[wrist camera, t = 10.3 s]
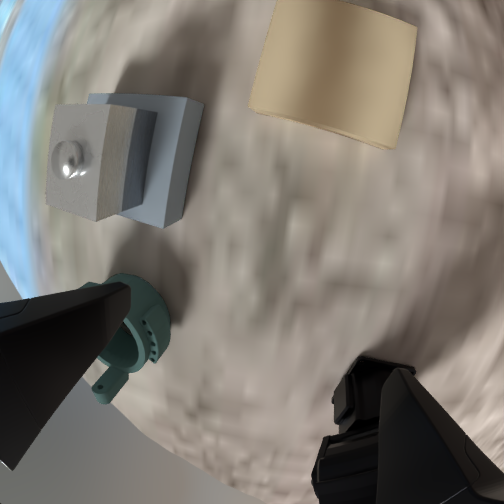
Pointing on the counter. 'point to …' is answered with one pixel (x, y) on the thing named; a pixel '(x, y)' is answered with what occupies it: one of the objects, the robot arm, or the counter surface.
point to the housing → (98, 158)
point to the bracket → (133, 348)
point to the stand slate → (163, 153)
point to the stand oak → (336, 69)
